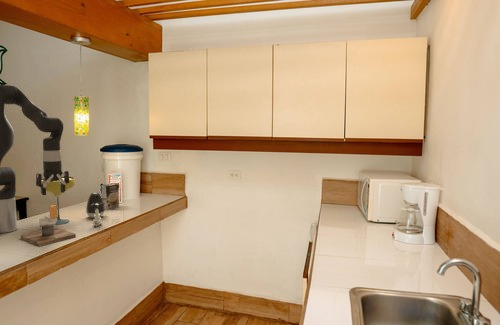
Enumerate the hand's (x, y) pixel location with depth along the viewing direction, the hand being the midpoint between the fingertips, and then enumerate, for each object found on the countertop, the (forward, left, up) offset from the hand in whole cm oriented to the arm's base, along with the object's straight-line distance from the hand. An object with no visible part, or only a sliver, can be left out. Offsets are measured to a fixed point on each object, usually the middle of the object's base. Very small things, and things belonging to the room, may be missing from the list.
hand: (53, 193), depth 166 cm
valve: (-8, +27, -23) cm, 36 cm away
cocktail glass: (-30, +17, -23) cm, 41 cm away
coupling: (-5, 0, -17) cm, 17 cm away
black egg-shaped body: (-24, +36, -23) cm, 49 cm away
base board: (-7, 0, -23) cm, 24 cm away
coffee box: (-37, +55, -23) cm, 70 cm away
